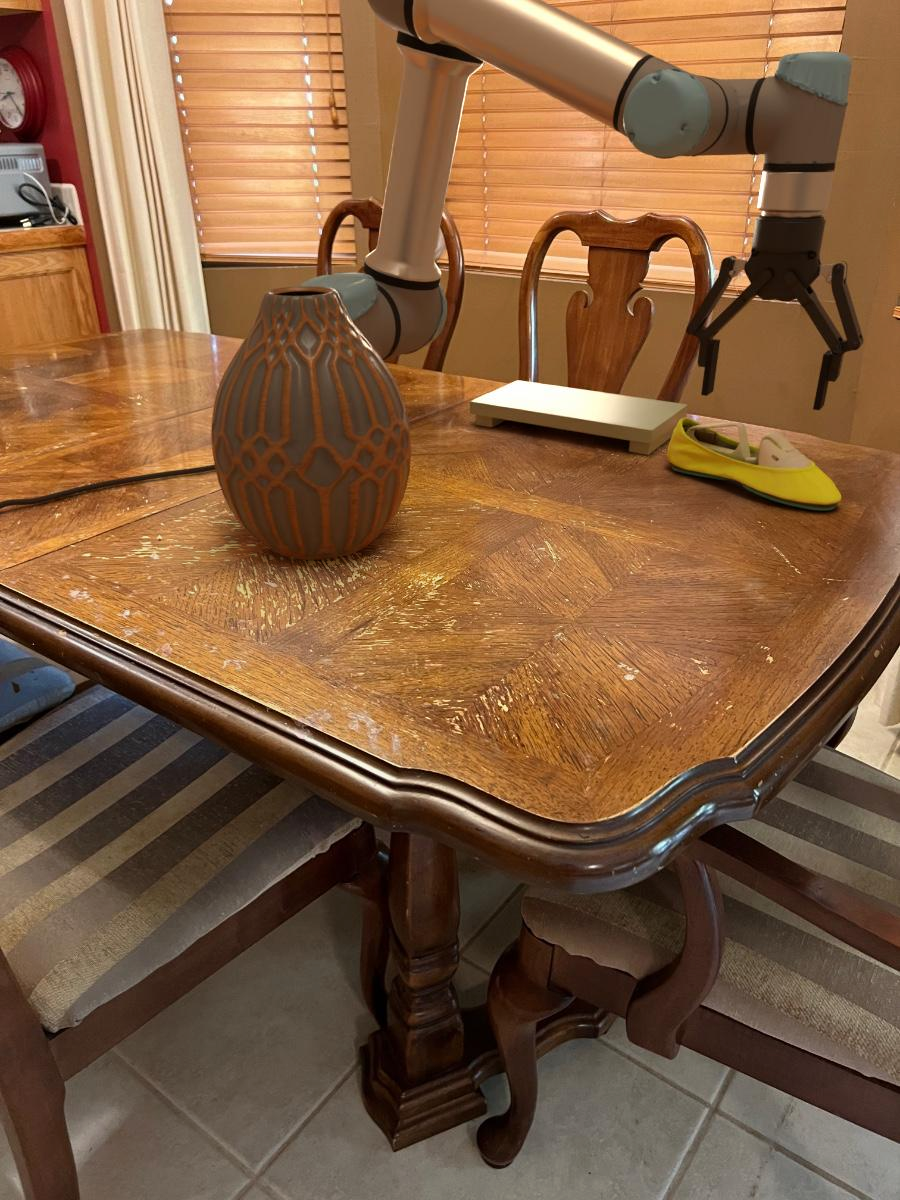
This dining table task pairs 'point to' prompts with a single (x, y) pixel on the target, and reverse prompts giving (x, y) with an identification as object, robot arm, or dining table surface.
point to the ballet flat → (752, 464)
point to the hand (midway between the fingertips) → (761, 400)
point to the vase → (310, 430)
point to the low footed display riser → (582, 412)
